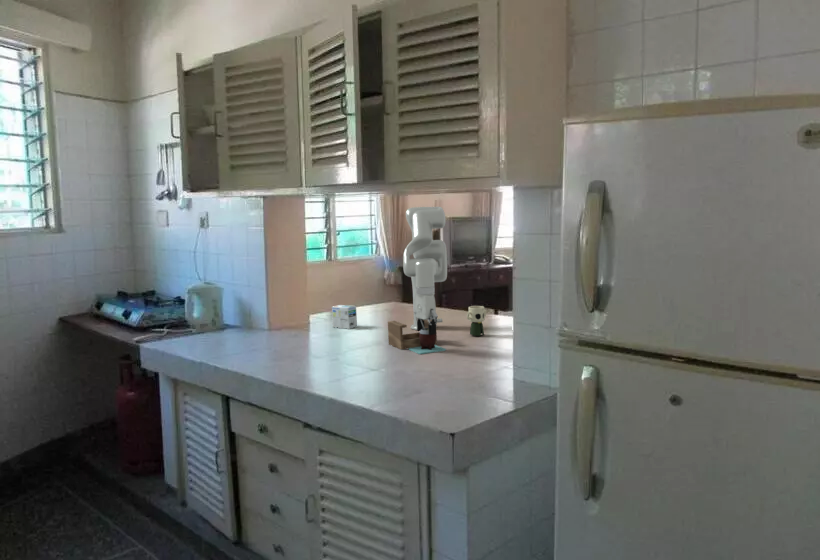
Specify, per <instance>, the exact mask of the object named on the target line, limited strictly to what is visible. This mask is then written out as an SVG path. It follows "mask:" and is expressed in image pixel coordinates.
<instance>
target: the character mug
mask: <svg viewBox="0 0 820 560" xmlns="http://www.w3.org/2000/svg"><path fill="white" fill-rule="evenodd" d="M486 317H487V310H486V309H485V306H484V305H471V306H468V312H466V319H467V320H468V321H469V322H471V323H470V330H469V335H471V336H474V337H475V336H476V337H481V336H485V331H484V325H483V322H484V321H485V319H486Z"/></svg>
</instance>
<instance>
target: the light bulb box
mask: <svg viewBox="0 0 820 560" xmlns="http://www.w3.org/2000/svg"><path fill="white" fill-rule="evenodd" d="M331 315H332V316H331V317H332V319H331V320H332V328H333V327H338V328H337V329H343V328H347V329H346V330H351V329H354V328H353V327H355V328H357V327H358V317H357V315H358V314H357V305H350V304H349V305H344V304H338V305H334V306H331ZM350 328H351V329H350Z"/></svg>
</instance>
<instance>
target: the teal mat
mask: <svg viewBox="0 0 820 560" xmlns="http://www.w3.org/2000/svg"><path fill="white" fill-rule="evenodd" d="M421 348H422V347H414V348H408V351H411V352H413V353H416V354H418V355H424V354H432V353H438V352H445V351H447V348H445V347H442V346H438V345H437V344H436V345H435V348H432V350H429V349H421Z"/></svg>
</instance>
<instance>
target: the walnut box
mask: <svg viewBox="0 0 820 560" xmlns="http://www.w3.org/2000/svg"><path fill="white" fill-rule="evenodd" d="M423 321H424V325H425V328H428V325H429V322H428V320H423ZM431 321H432V320H431ZM407 326H408V325H407V324H406V323H403V322H399V321H396V320H391V321H390V320H388V321H387V334H388V339H387V340H388V345H389V346H391V345H392V347H394V348H397V349H399V350H401V351H402V350H406V349H407V350H409V348H414V347H421V344H420V339H419V334H420V331H416V332H411V333H404V334H403V329H404V328H408V327H407ZM437 337H438V336H437V331H436V342H435V345H437V344H438V339H437Z"/></svg>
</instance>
